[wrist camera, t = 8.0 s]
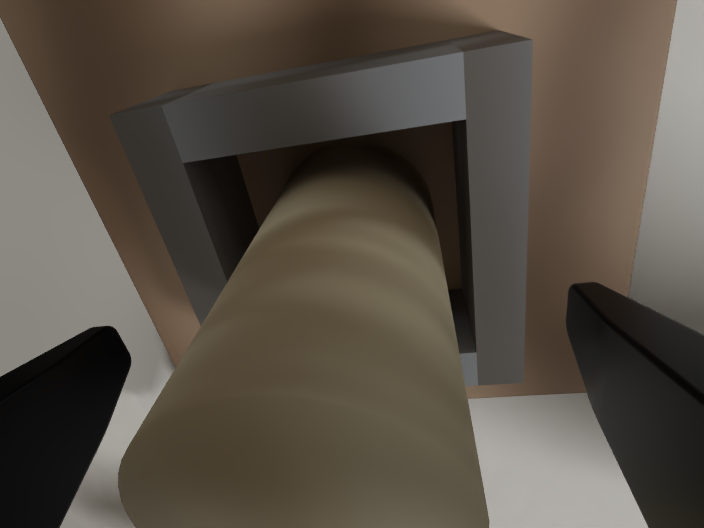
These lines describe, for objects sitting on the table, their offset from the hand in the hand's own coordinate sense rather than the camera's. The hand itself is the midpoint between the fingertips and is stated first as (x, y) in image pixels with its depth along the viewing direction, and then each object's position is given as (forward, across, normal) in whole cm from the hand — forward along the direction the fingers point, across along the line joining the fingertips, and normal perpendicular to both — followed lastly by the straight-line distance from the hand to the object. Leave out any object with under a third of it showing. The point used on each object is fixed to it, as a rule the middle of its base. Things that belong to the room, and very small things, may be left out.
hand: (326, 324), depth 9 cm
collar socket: (+7, 0, 0) cm, 7 cm away
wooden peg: (+5, 0, 0) cm, 5 cm away
